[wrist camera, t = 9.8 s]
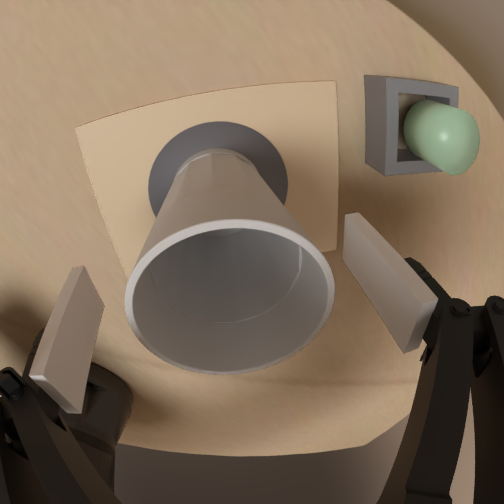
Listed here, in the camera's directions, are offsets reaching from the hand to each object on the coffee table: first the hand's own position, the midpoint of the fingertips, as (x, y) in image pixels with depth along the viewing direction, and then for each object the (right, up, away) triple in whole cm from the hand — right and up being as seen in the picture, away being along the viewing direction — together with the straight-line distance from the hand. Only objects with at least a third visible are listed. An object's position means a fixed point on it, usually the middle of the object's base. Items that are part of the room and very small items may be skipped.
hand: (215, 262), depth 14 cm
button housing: (+14, +11, +6) cm, 18 cm away
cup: (-1, +5, +7) cm, 8 cm away
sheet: (-1, +5, +7) cm, 9 cm away
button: (+14, +9, +3) cm, 17 cm away
